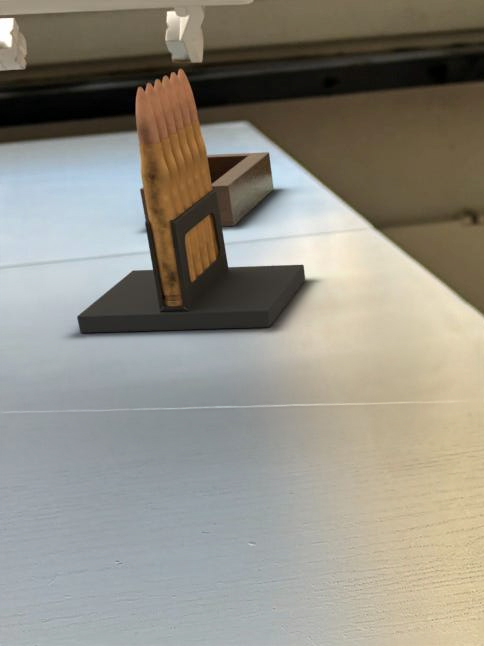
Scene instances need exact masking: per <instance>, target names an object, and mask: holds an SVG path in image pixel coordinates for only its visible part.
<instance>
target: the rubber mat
mask: <svg viewBox="0 0 484 646" xmlns="http://www.w3.org/2000/svg"><path fill="white" fill-rule="evenodd" d="M228 269H229V271H228V272H227V273H226V274H225V275H224V276H223V277H222V278H221V279H220V280H219V281H218V282H217V283H216V284H215V285H214V286H213V287H212V288H211V289H210V290H209V291H208V293H207V294H206V295H205V296H204V297H203V298H202V299H201V300H200V301H199V302H198V303H197V304H196V305H195V306H194V307H193V308H192V309H191V310H190V311H173V312H160V309H159V303H158V297H157V291H156V285H155V279H154V273H153V269H137V270H135V269H134V270H131V272H129V273H128V274H127V275H125V276H124V277H123V278H121V279H120V280H119V281H118V282H117V283H116V284H115V285H113V286H112V287H111V288H109V289H108V290H107V291H106V292H105V293H104V294H102V295H101V296H100V297H99V298H98V299H96V300H95V301H94V302H93V303H92V304H90V305H89V306H88V307H86V309H85V310H83V311H82V312H80V313H79V314H78V315H77V316H76V318H77V319H76V320H77V323H78V327H79V328H78V329H79V332H80V334H86V333H89V334H90V333H122V332H123V333H124V332H125V333H126V332H153V331H154V332H155V331H184V330H185V331H187V330H188V331H189V330H217V329H218V330H219V329H220V330H221V329H222V330H223V329H224V330H225V329H253V328H255V329H257V328H270V327H271V326H272V324H273V323H274V322H275V320H276V319H277V318H278V317H279V315H280V314H281V312H282V311H283V310H284V309H285V307H286V306H287V304H288V303H289V302H290V300H291V299H292V298H293V297H294V295H295V294H296V293H297V292H298V290H299V289H300V287H301V286H302V285H303V283H304V282H305V281H306V273H305V265H304V264H282V265H278V264H277V265H254V266H253V265H252V266H249V265H248V266H228Z"/></svg>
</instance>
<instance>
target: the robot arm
mask: <svg viewBox="0 0 484 646" xmlns="http://www.w3.org/2000/svg"><path fill="white" fill-rule="evenodd" d="M254 1H255V0H0V16H11V15H12V16H13V15H36V14H37V15H38V14H61V13H82V12H103V11H127V10H148V9H149V10H150V9H171V8H173V10H167V11H166V17H165V18H166V19H165V20H166V21H165V24H166V26H167V28H166V29H165V35H164V36H165V37H164V43H165V46H166V48H167V50H168V52H169V53H170V54H171V60H172V63H174V64H194V63H195V64H196V63H203V59H204V45H205V44H204V33H203V29H202V24H203V21H204V19H205V15H206V7H215V6H240V5H241V6H242V5H249V4H252V3H253V2H254ZM27 56H28V44H27V39H26V38H25V35H24V34H23V33H22V32H20V26H19V24H18V22H17V21H16V18H15V17H0V72H2V71H3V72H4V71H15V70H16V71H19V70H26V68H27V61H26V59H25V58H26V57H27Z"/></svg>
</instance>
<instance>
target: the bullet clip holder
mask: <svg viewBox="0 0 484 646" xmlns="http://www.w3.org/2000/svg"><path fill="white" fill-rule="evenodd" d="M207 158H208V165H209V171H210V178H211V184H212V189H216V192H217V199H218V205H219V212H220V218H221V224H222V228H225V227H227V228H228V227H234V226H236V225H237V224H238V223H239V222H240V221H241V220H242V219H244V218H245V216H247V215H248V214H249V213H250V212H251V211H252V210H253V209H254V208H255V207H256V206H258V204H259V203H260V202H261V201H263V200H264V199H265V198H266V197H267V196H268V195H269V194H270V193H271V192H272V191H273V190H274V188H275V187H274V180H273V172H272V165H271V156H270V152H268V151H266V152H245V153H243V152H242V153H241V152H240V153H222V154H221V153H219V154H207ZM139 191H140V198H141V203H142V208H143V214H144V220H145V221H147V220H148V219H149V217H148V211H147V206H146V200H145V194H144V188H143V187H141V188H140V189H139Z"/></svg>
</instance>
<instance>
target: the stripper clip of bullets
mask: <svg viewBox="0 0 484 646" xmlns="http://www.w3.org/2000/svg"><path fill="white" fill-rule="evenodd" d="M135 124H136V132H137V138H138V143H139V144H138V147H139V154H140V155H139V156H140V175H141V182H142V188H144V194H145V200H146V206H147V211H148V217H149V219H148V220H147V221H146V220H145V222H144V225H145V231H146V237H147V242H148V248H149V249H148V250H149V254H150V260H151V267H152V270H153V273H154V279H155V285H156V291H157V297H158V303H159V309H160V312H173V311H190V310H191V309H192V308H193V307H194V306H195V305H196V304H197V303H198V302H199V301H200V300H201V299H202V298H203V297H204V296H205V295H206V294H207V293H208V291H209V290H210V289H211V288H212V287H213V286H214V285H215V284H216V283H217V282H218V281H219V280H220V279H221V278H222V277H223V276H224V275H225V274H226V273H227V272H228V271H229V269H228V267H229V264H228V258H227V251H226V243H225V238H224V231H223V227H222V224H221V218H220V212H219V205H218V199H217V192H216V189H212V184H211V178H210V171H209V165H208V158H207V155H208V153H207V147H206V144H205V143H206V142H205V140H204V137H203V135H202V134H203V133H202V130H201V125H200V120H199V116H198V110H197V105H196V101H195V97H194V93H193V90H192V86H191V84H190V81H189V79H188V77H187V74H186V73H185V71H184V70H183V69H182V68H179V69H178V72H177V74H176V72H174V71H172V72H171V73H170V76H168V75H164V76H163V77H162V81H161V80H160V79H159V78H156V79H155V81H154V85H152V83H151V82H147V83H146V86H145V90H144V88H143V87H142V86H138V87H137V91H136V96H135Z"/></svg>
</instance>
